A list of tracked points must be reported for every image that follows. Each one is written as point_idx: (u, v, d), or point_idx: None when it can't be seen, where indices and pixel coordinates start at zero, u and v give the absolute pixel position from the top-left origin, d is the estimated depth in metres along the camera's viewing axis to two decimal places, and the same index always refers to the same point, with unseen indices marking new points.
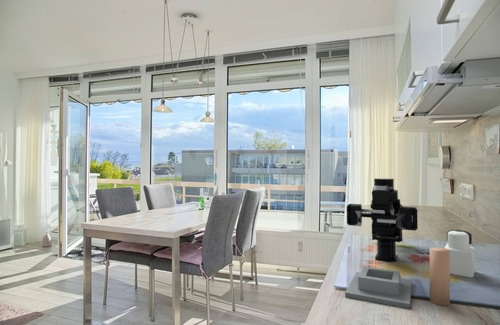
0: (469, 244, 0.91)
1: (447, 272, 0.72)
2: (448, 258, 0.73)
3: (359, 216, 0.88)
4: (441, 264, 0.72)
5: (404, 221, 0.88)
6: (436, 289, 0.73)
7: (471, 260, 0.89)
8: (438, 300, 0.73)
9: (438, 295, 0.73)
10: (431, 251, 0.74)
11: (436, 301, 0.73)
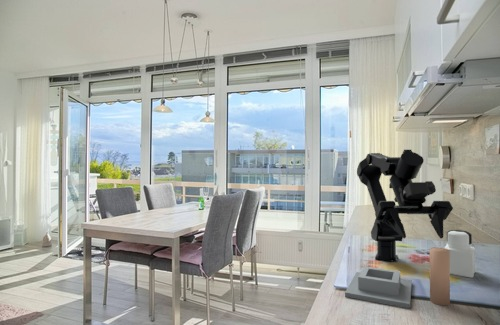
0: (469, 244, 0.91)
1: (447, 272, 0.72)
2: (448, 258, 0.73)
3: (403, 231, 0.82)
4: (441, 264, 0.72)
5: None
6: (436, 289, 0.73)
7: (471, 260, 0.89)
8: (438, 300, 0.73)
9: (438, 295, 0.73)
10: (431, 251, 0.74)
11: (436, 301, 0.73)
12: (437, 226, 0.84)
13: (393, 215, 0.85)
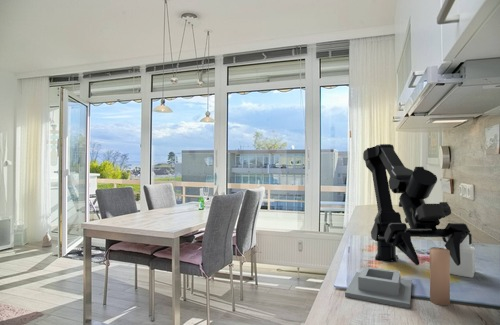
0: (469, 244, 0.91)
1: (447, 272, 0.72)
2: (448, 258, 0.73)
3: (416, 257, 0.75)
4: (441, 264, 0.72)
5: None
6: (436, 289, 0.73)
7: (471, 260, 0.89)
8: (438, 300, 0.73)
9: (439, 295, 0.73)
10: (431, 251, 0.74)
11: (436, 301, 0.73)
12: (453, 251, 0.77)
13: (405, 239, 0.78)
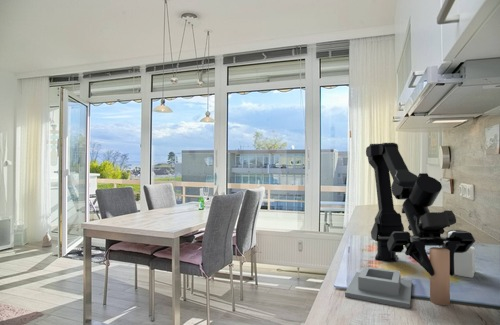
0: None
1: (447, 272, 0.72)
2: (448, 258, 0.73)
3: (431, 267, 0.73)
4: (441, 264, 0.72)
5: None
6: (436, 289, 0.73)
7: (471, 260, 0.89)
8: (438, 300, 0.73)
9: (439, 295, 0.73)
10: (431, 251, 0.74)
11: (436, 301, 0.73)
12: None
13: (419, 249, 0.76)
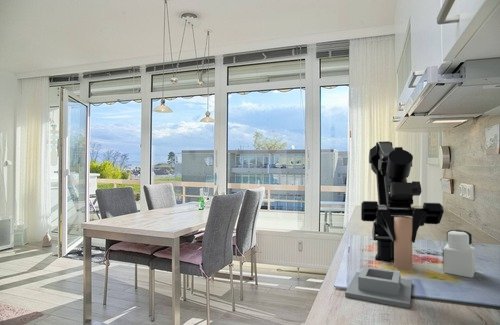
0: (469, 244, 0.91)
1: (407, 238, 0.76)
2: (409, 225, 0.76)
3: (393, 233, 0.78)
4: (401, 231, 0.77)
5: None
6: (397, 254, 0.77)
7: (471, 260, 0.89)
8: (399, 264, 0.77)
9: (399, 260, 0.77)
10: (394, 219, 0.78)
11: (397, 265, 0.77)
12: (412, 229, 0.78)
13: (384, 216, 0.81)
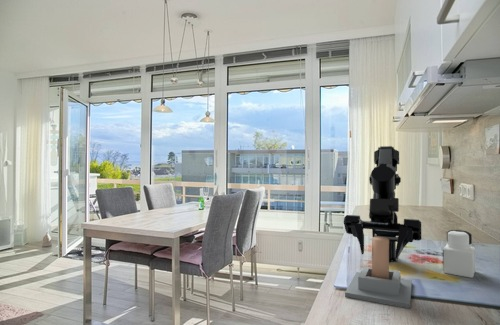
0: (469, 244, 0.91)
1: (382, 259, 0.79)
2: (384, 247, 0.79)
3: (361, 247, 0.82)
4: (376, 251, 0.79)
5: None
6: (373, 273, 0.80)
7: (471, 260, 0.89)
8: None
9: None
10: (372, 239, 0.81)
11: None
12: (397, 245, 0.80)
13: (356, 230, 0.85)
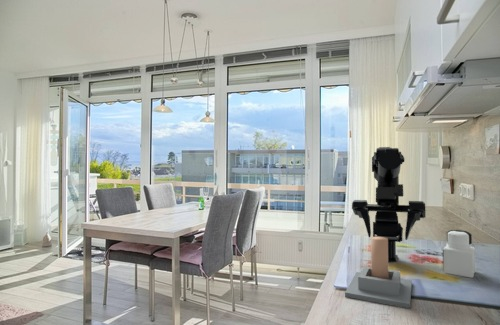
0: (469, 244, 0.91)
1: (382, 259, 0.79)
2: (383, 246, 0.79)
3: (368, 231, 0.89)
4: (375, 251, 0.80)
5: None
6: (373, 273, 0.81)
7: (471, 260, 0.89)
8: None
9: None
10: (371, 239, 0.82)
11: None
12: (406, 227, 0.86)
13: (362, 215, 0.91)
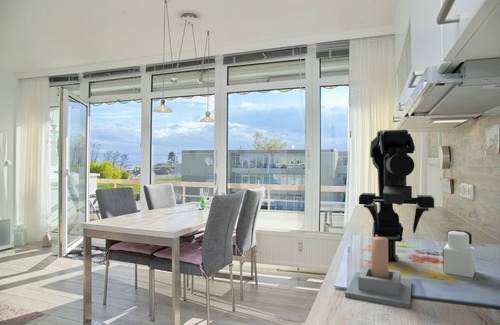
0: (469, 244, 0.91)
1: (382, 259, 0.79)
2: (383, 246, 0.79)
3: (376, 225, 0.91)
4: (375, 251, 0.80)
5: None
6: (373, 273, 0.81)
7: (471, 260, 0.89)
8: None
9: None
10: (371, 239, 0.82)
11: None
12: (414, 220, 0.87)
13: (370, 210, 0.91)
